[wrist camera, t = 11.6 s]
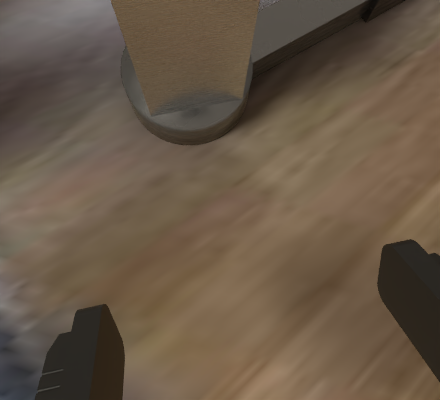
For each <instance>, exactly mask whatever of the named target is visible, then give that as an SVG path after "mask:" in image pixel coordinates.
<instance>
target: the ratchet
mask: <svg viewBox="0 0 440 400" xmlns="http://www.w3.org/2000/svg"><path fill="white" fill-rule="evenodd" d="M404 1H405V0H280V1H278V2H276V3H274V4H273V5H271V6H269V7H267V8H265V9H263V10H261V11H259V12H258V13H257V19H256V24H255V30H254V36H253V41H252V47H251V52H250V58H249V64H248V69H247V75H246V81H245V86H244V92H243V97H242V100H237V101H232V102H227V103H221V104H216V105H211V106H205V107H200V108H195V109H189V110H184V111H179V112H174V113H168V114H163V115H158V116H152V117H151V115H150V112H149V109H148V106H147V103H146V100H145V98H144V95H143V92H142V89H141V86H140V83H139V80H138V77H137V75H136V72H135V69H134V66H133V63H132V60H131V57H130V54H129V52H128V49H127V46H126V47H125V49H124V52H123V55H122V60H121V77H122V82H123V85H124V88H125V90H126V93H127V95H128V97H129V100H130V102H131V104H132V107H133V109H134V111H135V113H136V115H137V117H138V119H139V120H140V121H141V123H142V124H143V125H144V126H145V127H146V128H147V129H148V130H149V131H150V132H151V133H153V134H154V135H156V136H157V137H159V138H161V139H163V140H165V141H168V142H171V143H174V144H180V145H199V144H203V143H207V142H210V141H213V140H215V139H217V138H219V137H221V136H223V135H224V134H226V133H227V132H228V131H229V130H231V129H232V128H233V127H234V126H235V124H236V123H237V122H238V121H239V119H240V118H241V116H242V114H243V112H244V110H245V107H246V103H247V99H248V94H249V89H250V84H251V79H253V78H254V77H256V76H258V75H260V74H262V73H263V72H265V71H267V70H269V69H271V68H272V67H274V66H276V65H278V64H280V63H281V62H283V61H285V60H287V59H289V58H291V57H292V56H294V55H296V54H298V53H300V52H301V51H303V50H305V49H307V48H309V47H310V46H312V45H314V44H316V43H318V42H319V41H321V40H323V39H325V38H327V37H328V36H330V35H332V34H334V33H336V32H337V31H339V30H341V29H343V28H345V27H346V26H348V25H350V24H352V23H354V22H355V21H357V20H359V19H361V18H362V19H363V20H364V21H365V22H368V21H369V20H371V19H373V18H375V17H377V16H378V15H380V14H382V13H384V12H386V11H387V10H389V9H391V8H393V7H395V6H396V5H398V4H400V3H402V2H404Z"/></svg>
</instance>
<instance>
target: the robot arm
mask: <svg viewBox="0 0 440 400" xmlns="http://www.w3.org/2000/svg"><path fill="white" fill-rule="evenodd" d="M377 284H378V291H379V294H380V297H381V299H382V301H383V302H384V304H385V305H386V307H387V308H388V310H389V311H390V312H391V314H392V315H393V317H394V318H395V320H396V321H397V322H398V324H399V325H400V327H401V328H402V329H403V331H404V332H405V334H406V335H407V336H408V338H409V339H410V341H411V342H412V344H413V345H414V346H415V348H416V349H417V351H418V352H419V353H420V355H421V356H422V358H423V359H424V360H425V362H426V363H427V365H428V366H429V368H430V369H431V370H432V372H433V373H434V375H435V376H436V377H437V379H438V380H439V382H440V256H439V255H437V254H436V253H433V254H428V253H427V252H426V251H425V250H424V249H423V248H422V247H421V246H420V245H419V244H418V243H417V242H416V241H414V240H411V239H410V240H405V241H400V242H396V243H391V244H386V245H384V246H383V248H382V254H381V261H380V268H379V275H378V282H377ZM124 363H125V354H124V346H123V341H122V338H121V336H120V333H119V331H118V329H117V326H116V324H115V322H114V319H113V317H112V315H111V313H110V310H109V308H108V306H107V305H106V304H103V305H98V306H94V307H89V308H84V309H80V310H77V311H76V313H75V317H74V321H73V326H72V331H71V332H67V333H63V334H59V336H58V337H57V339H56V340H55V342H54V343H53V345H52V346H51V348H50V349H49V351H48V352H47V355H46V359H45V363H44V367H43V371H42V377H41V378H40V382H39V386H38V394H36V397H35V400H122V396H123V380H124Z"/></svg>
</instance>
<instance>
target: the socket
mask: <svg viewBox="0 0 440 400" xmlns="http://www.w3.org/2000/svg"><path fill="white" fill-rule="evenodd" d="M259 2H260V0H111V3H112V6H113V8H114V11H115V14H116V17H117V20H118V23H119V26H120V29H121V31H122V34H123V37H124V40H125V43H126V46H127V49H128V52H129V54H130V57H131V60H132V63H133V66H134V69H135V72H136V75H137V77H138V80H139V83H140V86H141V89H142V92H143V95H144V98H145V100H146V103H147V106H148V109H149V112H150V115H151V117H152V116H158V115H163V114H168V113H174V112H179V111H184V110H189V109H195V108H200V107H205V106H211V105H216V104H221V103H227V102H232V101H237V100H242V97H243V92H244V86H245V81H246V75H247V69H248V64H249V58H250V52H251V47H252V41H253V36H254V30H255V24H256V19H257V13H258V7H259Z"/></svg>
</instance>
